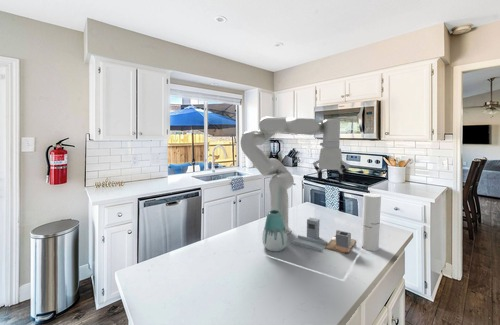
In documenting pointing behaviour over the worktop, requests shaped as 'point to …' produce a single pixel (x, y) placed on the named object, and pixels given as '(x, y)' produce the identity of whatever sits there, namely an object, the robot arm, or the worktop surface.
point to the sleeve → (343, 241)
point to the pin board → (332, 244)
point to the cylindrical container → (371, 221)
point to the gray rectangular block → (313, 228)
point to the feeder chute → (310, 243)
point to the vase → (274, 232)
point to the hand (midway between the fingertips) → (330, 180)
